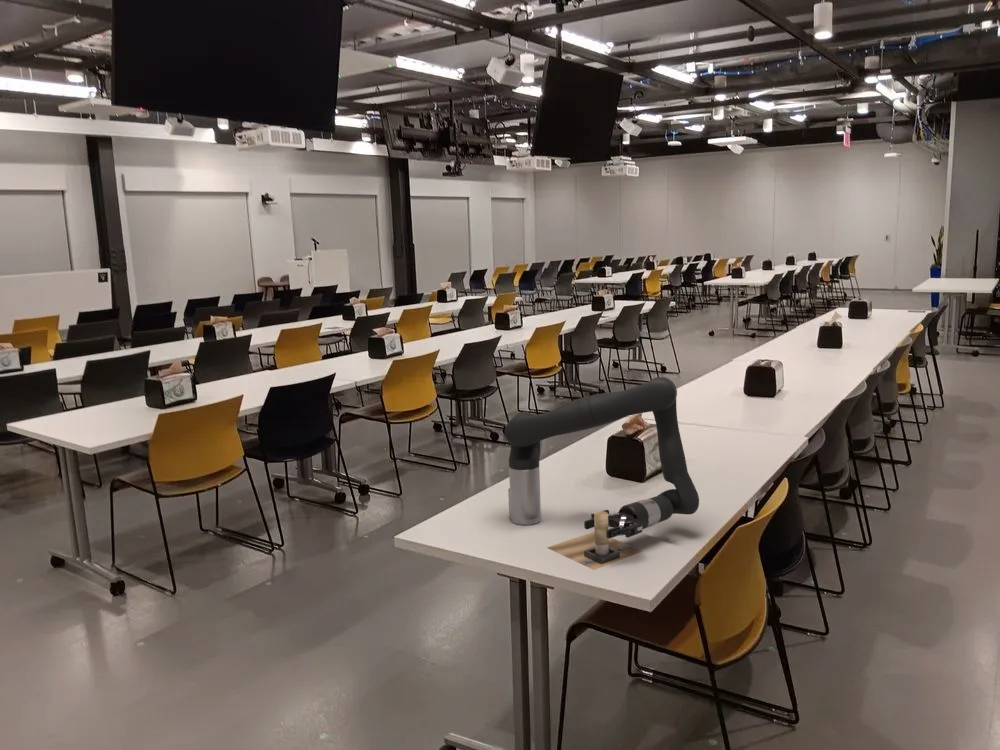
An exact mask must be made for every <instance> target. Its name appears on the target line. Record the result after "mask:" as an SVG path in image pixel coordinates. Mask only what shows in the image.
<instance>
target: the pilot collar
mask: <svg viewBox="0 0 1000 750" xmlns="http://www.w3.org/2000/svg"><path fill="white" fill-rule="evenodd" d="M584 557H587V558H589V559H591V560H593V561H595V562H598V563H600V564H603V563H606V562H609V561H611V560H614V559H617V558H619V557H620V552H618V551H616V550H614V549H611V548H609V554H608V555H606V556H603V557H600V556H598V555H596V554H595V547H594V548H591V549H589V550H586V551H584Z"/></svg>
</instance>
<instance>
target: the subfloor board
mask: <svg viewBox="0 0 1000 750" xmlns="http://www.w3.org/2000/svg"><path fill="white" fill-rule="evenodd" d="M594 547H595V530H594V531H592V532H589V533H586V534H583V535H580V536H579V535H578V536H577V537H574V538H570V539H568V540H565V541H563V542H560V543H556V544H554V545H551V546H547V547H546V549H549V550H551V551H553V552H555V553H557V554H559V555H561V556H563V557H566V558H567V559H570V560H572V561H574V562H576V563H579V564H581V565H583V566H585V567H588V568H589V569H591V570H594V571H595V570H597V569H601V568H603V567H605V566H606V567H607V566H608V565H611V564H613V563H616V562H618V561H621V560H625V559H626V558H629V557H632V556H635V555H637V554H640V553H642V552H644V550H642V549H640V548H637V547H635V546H633V545H631V544H627V543H625V542H623V541H620V540H618V539H615V538H614V537H613V538H610V539H609V548H611V549H614V550H616V551H618V552H620V557H619V558H617V559H614V560H611V561H609V562H606V563H603V564H600V563H598V562H595V561H593V560H591V559H589V558H587V557H584V551H586V550H589V549H591V548H594Z"/></svg>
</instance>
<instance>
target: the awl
mask: <svg viewBox="0 0 1000 750" xmlns="http://www.w3.org/2000/svg"><path fill="white" fill-rule="evenodd" d="M593 513H594V525H595V527H594V531H595V554H596V555H598V556H600V557H603V556H606V555H608V554H609V538H607V537H606V531H607V530H608V529H609V527H608V513H607V512H604V510H601V511H599V510H598V511H595V512H593Z"/></svg>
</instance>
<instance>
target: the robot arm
mask: <svg viewBox="0 0 1000 750" xmlns="http://www.w3.org/2000/svg"><path fill="white" fill-rule="evenodd" d="M677 396H678V389H677V386H676V385H675V383H674V382H673V380H671V379H670V378H668V377H665V376H657V377H653V378H652V379H650V380H648V381H646V382H644V383H642V384H640V385H636V386H634V387H631V388H628V389H625V390H620V391H610V392H603V393H597V394H592V395H588V396H583V397H580V398H576V399H575V400H572V401H569V402H567V403H565V404H564V403H563V404H562V405H560V406H558V407H557V408H554V409H551V410H550V411H547V412H544V413H540V414H536V415H534V414H533V413H531V412H528V411H522V412H521V411H520V412H517V414H515V415H514V416H513V417H512V418H511V419H510V420H509V421H508V422H507V424H506V426H505V429H504V437H505V439H506V441H507V442H508V443H509V444H510V452H509V457H508V473H509V474H508V476H509V479H508V480H509V488H508V489H507V490H508V492H507V493H508V515H509V516H508V518H509V519H510V522H512V523H513V524H516V525H520V526H521V525H522V526H528V525H529V526H531V525H534V524H537V523H540V522H541V520H542V509H541V506H542V505H541V479H540V477H541V474H540V458H541V441H544V440H546V439H549V438H553V437H556V436H561V435H568V434H571V433H572V434H573V433H576V432H577V433H578V432H581V431H585V430H586V431H587V430H590V429H594V428H598V427H601V426H604V425H607V424H611V423H613V422H616V421H619V420H622V419H624V418H627V417H630V416H634V415H638V414H643V413H649V412H650V413H651V412H652V414H653V416H654V421H655V426H656V433H657V443H658V444H657V445H658V455H659V460H660V466H661V470H662V477H663V479H664V481H665V482H667V483H669V484H672V485H673V486H674V487H675V488H672V489H668V490H664V491H662V492H661V493H659V494H658V495H656V496H652V497H650V498H646V499H641V500H637V501H634V502H631V503H627V504H625V505H623V506H621V508H620V509H619V510H618V512H612V513H610V510H608V509H605V510H603V511H604V512H607V513H608V530H607V531H606V537H607V538H609V539H610V538H613V539H614V538H615V537H619V536H620V537H624V536H625V538H631V537H634V536H636V535H639V534H641V533H643V530H644V529H647V528H650V527H652V526H654V525H656V524H659V523H662V522H665V521H667V520H668V519H670V518H671V517H672V516H673V515H675V514H676V515H677V514H678V515H693V514H694V513H696V512H697V510H698V509H699V506H700V497H699V494H698V491H697V489H696V486H695V484H694V482H693V480H692V478H691V475H690V474H689V471H688V465H687V460H686V456H685V451H684V450H685V449H684V447H683V443H682V442H683V441H682V438H681V433H680V428H679V427H680V426H679V422H678V412H677ZM594 513H595V512H593V513H591V514H590V519H587V520H584V522H583V523H584V524H583V526H584V529H585V530H589V529H593V528H595V525H594Z"/></svg>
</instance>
